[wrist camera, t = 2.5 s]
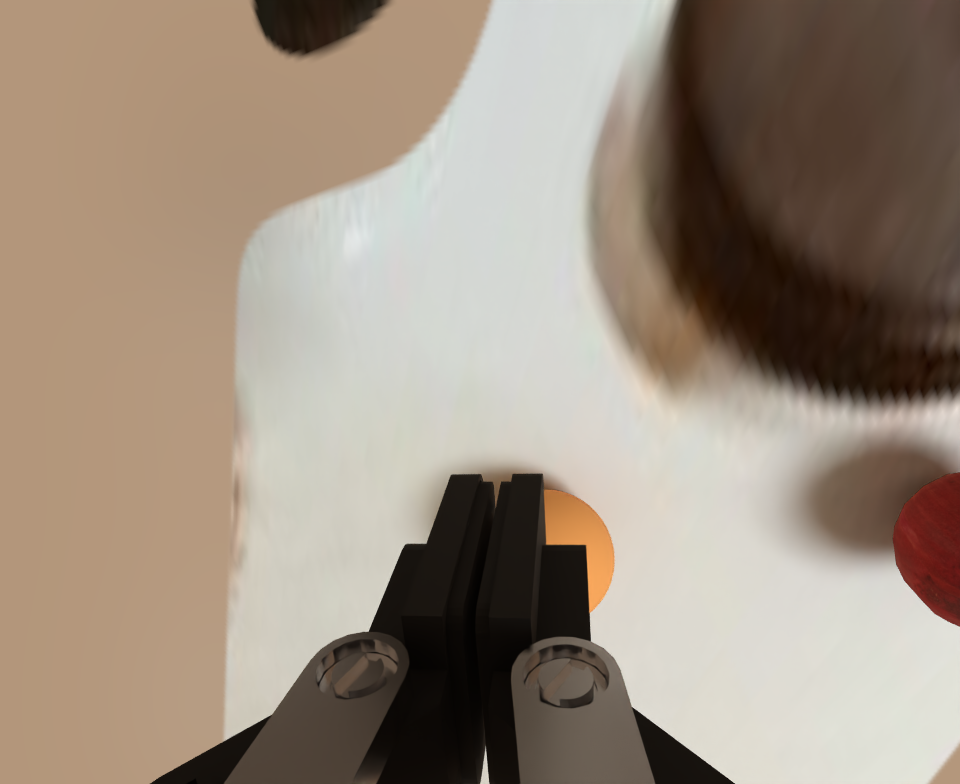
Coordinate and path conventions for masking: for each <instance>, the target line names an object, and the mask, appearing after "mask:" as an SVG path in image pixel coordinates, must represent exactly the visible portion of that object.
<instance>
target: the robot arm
mask: <svg viewBox="0 0 960 784" xmlns="http://www.w3.org/2000/svg"><path fill="white" fill-rule="evenodd" d="M485 747H486V752H487V763H488V774H489V783H490V784H735V783H733V782H732V781H731V780H729V779H728V778H727V777H725V776H724V775H723V774H721V773H720V772H719V771H717V770H716V769H715V768H713V767H712V766H711V765H709V764H708V763H706V762H705V761H704V760H702V759H701V758H700V757H698V756H697V755H696V754H694V753H693V752H692V751H690V750H689V749H688V748H686V747H685V746H684V745H682V744H681V743H680V742H678V741H677V740H676V739H674V738H673V737H672V736H670V735H669V734H668V733H666V732H665V731H664V730H662V729H661V728H659V727H658V726H657V725H655V724H654V723H653V722H651V721H650V720H649V719H647V718H646V717H645V716H643V715H642V714H641V713H639V712H638V711H637V710H635V709H634V708H633V707H632V706H631V703H630V700H629V696H628V693H627V690H626V687H625V683H624V680H623V677H622V674H621V670H620V668H619V666H618V665H617V663H616V661H615V659H614V658H613V657H612V656H611V655H610V654H609V653H608V652H607V651H606V650H605V649H604V648H602V647H600V646H598V645H596V644H594V643H592V642H591V634H590V613H589V591H588V570H587V549H586V545H546V525H545V504H544V483H543V474H513V475H512V481H511V482H501V485H500V490H499V495H498V500H497V505H496V508H495V495H494V485H493V482H483V478H482V475H481V474H459V475H451V477H450V479H449V482H448V485H447V488H446V490H445V493H444V496H443V499H442V502H441V504H440V507H439V510H438V513H437V516H436V519H435V521H434V524H433V527H432V530H431V533H430V535H429V538H428V541H427V544H406V545H405V546H404V548H403V549H402V552H401V554H400V556H399V559H398V561H397V564H396V566H395V569H394V571H393V574H392V576H391V578H390V581H389V583H388V586H387V588H386V591H385V593H384V595H383V598H382V600H381V603H380V605H379V608H378V610H377V613H376V615H375V617H374V620H373V622H372V625H371V627H370V630H369V632H361V633H356V634H350V635H347V636H344V637H342V638H339V639H337V640H334V641H333V642H331V643H330V644H328V645H327V646H325V647H324V648H322V649H321V650H320V651H319V652H318V653H317V654H316V655H315V656H314V657H313V658H312V659H311V660H310V662H309V663H308V665H307V666H306V667H305V669H304V670H303V672H302V673H301V674H300V676H299V677H298V679H297V680H296V682H295V683H294V684H293V686H292V687H291V689H290V690H289V692H288V693H287V694H286V696H285V697H284V699H283V700H282V701H281V703H280V704H279V706H278V707H277V709H276V710H275V711H274V713H273V714H272V715H271V716H269V717H267V718H265V719H263V720H262V721H260V722H258V723H256V724H254V725H253V726H251V727H249V728H247V729H245V730H244V731H242V732H240V733H238V734H236V735H235V736H233V737H231V738H229V739H227V740H226V741H224V742H222V743H220V744H218V745H217V746H215V747H213V748H211V749H210V750H208V751H206V752H204V753H202V754H201V755H199V756H197V757H195V758H193V759H192V760H190V761H188V762H186V763H184V764H183V765H181V766H179V767H177V768H175V769H174V770H172V771H170V772H168V773H166V774H165V775H163V776H161V777H159V778H158V779H156V780H155V781H153V782H152V783H150V784H480V782H481V776H482V769H483V761H484V754H485Z"/></svg>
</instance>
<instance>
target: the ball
mask: <svg viewBox="0 0 960 784" xmlns="http://www.w3.org/2000/svg"><path fill="white" fill-rule="evenodd" d="M544 504H545V525H546V545H586V549H587V570H588V591H589V613H590V612H591V611H593V610H594V609H595V608H596V607H597V605H598V604H599V603H600V602H601V601H602V599H603V598H604V596H605V594H606V592H607V591H608V588H609V586H610V584H611V580H612V576H613V572H614V548H613V544H612V540H611V537H610V534H609V532H608V529H607V527H606V526H605V524H604V522H603V521H602V519H601V518H600V517H599V515H598V514H597V513H596V512H595V511H594V510H593V509H592V508H591V507H590V506H589V505H588V504H586V503H585V502H584V501H582V500H580V499H579V498H577V497H575V496H573V495H570V494H568V493H565V492H561V491H556V490H544Z"/></svg>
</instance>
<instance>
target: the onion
mask: <svg viewBox="0 0 960 784" xmlns="http://www.w3.org/2000/svg"><path fill="white" fill-rule="evenodd" d="M893 544H894V551H895V558H896V565H897V567H898V569H899V571H900V573H901V575H902V577H903V579H904V581H905V582H906V583H907V584H908V585H909V587H910V588H911V589H912V590H913V591H914V592H915V593H916V594H917V596H918V597H919V598H920V599H921V600H922V601H923V602H924V603H925V604H926V605H927V606H928V607H929V608H930V609H931V610H932V611H933V612H934V614H936V615H938V616H940V617H941V618H943V619H945V620H947V621H948V622H950V623H952V624H955V625H957V626H960V472H959V473H953V474H947V475H945V476H943V477H941V478H939V479H937V480H935V481H933V482H931V483H929V484H927V485H925V486H923V487H922V488H921V489H920V490H919V491H918V492H917V493H916V494H915V495H914V496H913V497H912V498H911V499H910V500H908V501H907V502H906V503H905V504H904V506H903V509H902V511H901V513H900V515H899V518H898V520H897V522H896V524H895V526H894V534H893Z"/></svg>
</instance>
